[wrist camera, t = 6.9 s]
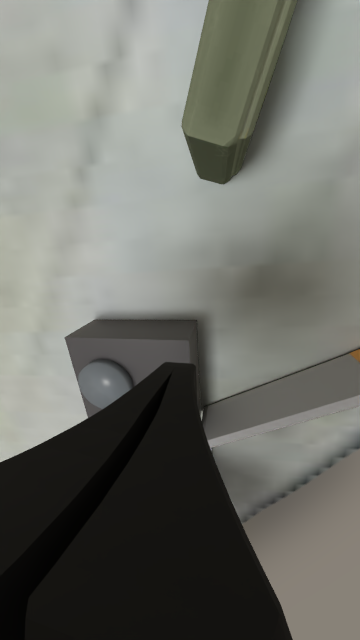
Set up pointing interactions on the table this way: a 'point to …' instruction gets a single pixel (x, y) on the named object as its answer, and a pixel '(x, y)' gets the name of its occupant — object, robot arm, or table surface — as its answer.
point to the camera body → (127, 355)
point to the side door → (286, 401)
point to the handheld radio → (232, 81)
